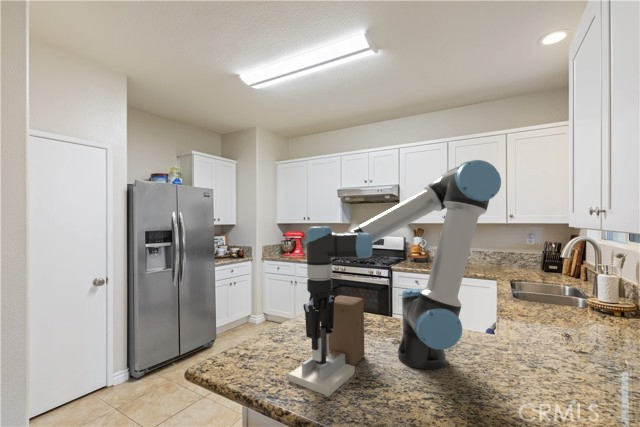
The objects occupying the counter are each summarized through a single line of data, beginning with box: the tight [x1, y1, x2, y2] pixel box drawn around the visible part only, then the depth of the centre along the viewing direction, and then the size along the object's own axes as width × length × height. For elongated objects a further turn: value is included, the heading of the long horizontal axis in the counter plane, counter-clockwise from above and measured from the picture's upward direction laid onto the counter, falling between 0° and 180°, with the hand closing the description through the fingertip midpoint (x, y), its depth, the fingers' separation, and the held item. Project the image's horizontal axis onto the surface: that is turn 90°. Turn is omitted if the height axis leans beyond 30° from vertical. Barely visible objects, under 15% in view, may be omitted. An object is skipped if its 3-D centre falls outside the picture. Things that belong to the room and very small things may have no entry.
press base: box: [288, 354, 356, 397], centre depth 88 cm, size 14×14×5 cm
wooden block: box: [329, 295, 366, 367], centre depth 100 cm, size 10×10×20 cm
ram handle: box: [315, 325, 343, 370], centre depth 91 cm, size 4×11×12 cm, turn 145°
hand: (320, 357), depth 88 cm, fingers closed on ram handle, 3 cm apart
